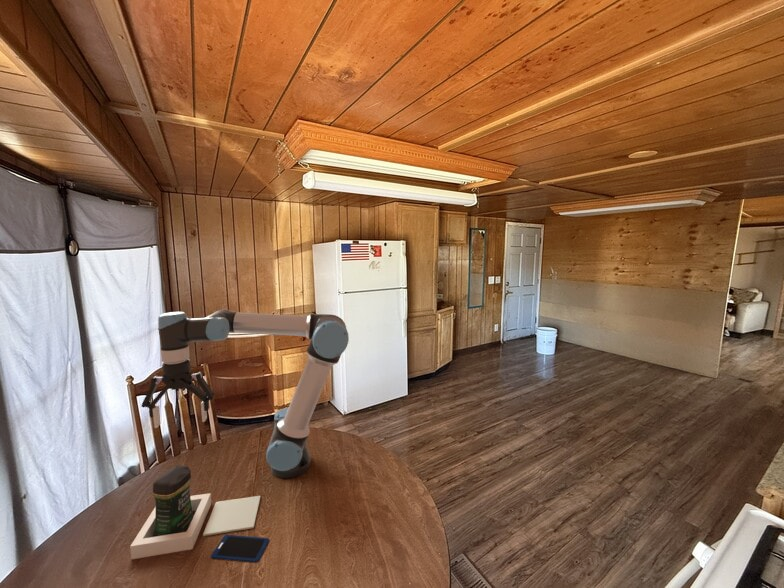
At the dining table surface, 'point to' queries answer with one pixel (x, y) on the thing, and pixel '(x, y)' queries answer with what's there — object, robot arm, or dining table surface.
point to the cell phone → (240, 548)
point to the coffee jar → (173, 501)
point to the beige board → (232, 515)
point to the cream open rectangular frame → (172, 542)
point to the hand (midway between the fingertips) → (181, 422)
